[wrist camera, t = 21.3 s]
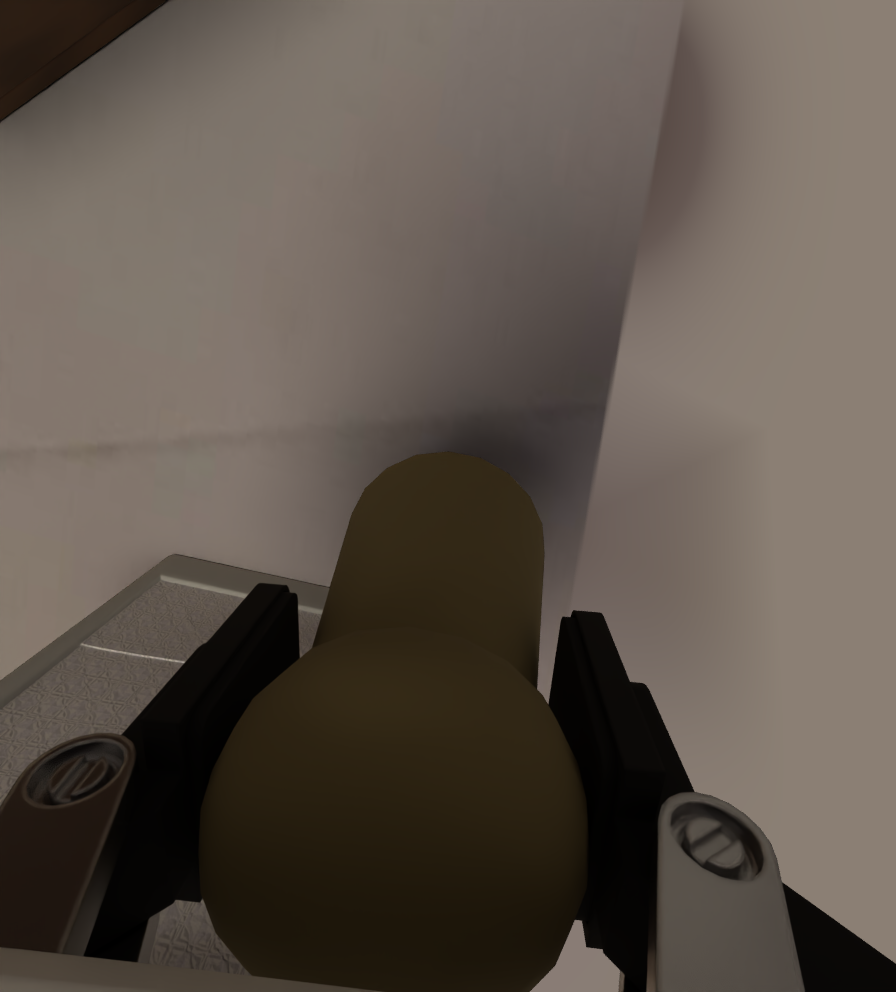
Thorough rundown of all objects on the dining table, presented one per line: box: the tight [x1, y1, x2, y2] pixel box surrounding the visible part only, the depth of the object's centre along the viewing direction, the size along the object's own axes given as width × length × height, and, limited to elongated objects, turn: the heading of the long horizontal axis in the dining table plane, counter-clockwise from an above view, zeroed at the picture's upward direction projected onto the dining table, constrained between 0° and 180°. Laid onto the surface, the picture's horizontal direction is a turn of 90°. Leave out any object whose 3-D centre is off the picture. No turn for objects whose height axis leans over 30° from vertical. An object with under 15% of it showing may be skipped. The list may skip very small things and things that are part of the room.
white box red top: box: [0, 555, 329, 976], centre depth 20 cm, size 17×18×27 cm
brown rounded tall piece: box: [198, 451, 589, 992], centre depth 11 cm, size 6×6×11 cm
